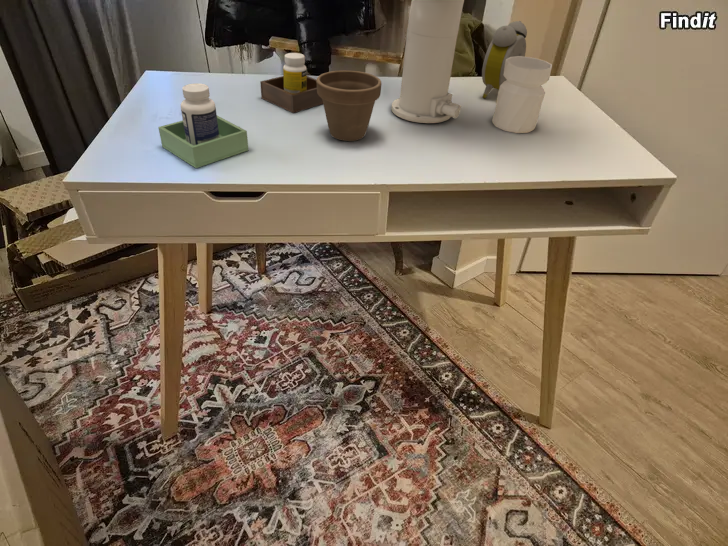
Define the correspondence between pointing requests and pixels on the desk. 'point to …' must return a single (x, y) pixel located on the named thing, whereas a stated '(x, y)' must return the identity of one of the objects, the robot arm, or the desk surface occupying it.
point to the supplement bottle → (295, 73)
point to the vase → (521, 94)
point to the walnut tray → (290, 95)
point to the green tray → (207, 152)
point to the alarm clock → (502, 53)
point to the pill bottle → (199, 114)
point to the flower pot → (348, 101)
